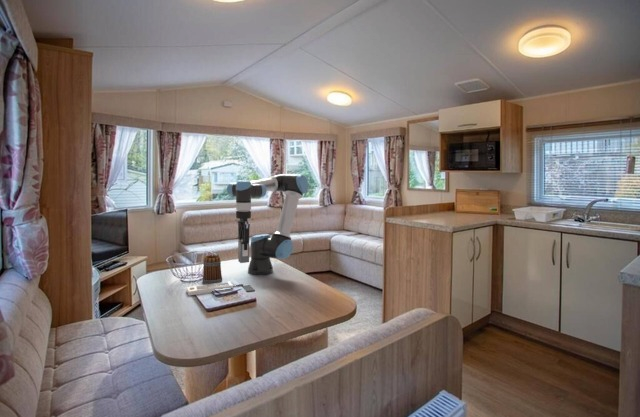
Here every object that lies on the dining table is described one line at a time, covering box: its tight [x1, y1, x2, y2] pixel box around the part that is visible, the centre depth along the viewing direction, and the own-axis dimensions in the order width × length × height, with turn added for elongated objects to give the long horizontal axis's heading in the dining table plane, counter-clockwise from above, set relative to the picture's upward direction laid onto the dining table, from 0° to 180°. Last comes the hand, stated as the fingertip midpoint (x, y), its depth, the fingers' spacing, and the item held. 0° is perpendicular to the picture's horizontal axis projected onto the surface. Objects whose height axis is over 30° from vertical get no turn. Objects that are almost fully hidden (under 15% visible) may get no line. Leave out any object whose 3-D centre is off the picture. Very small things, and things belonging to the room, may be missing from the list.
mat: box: [241, 284, 256, 293], centre depth 186 cm, size 9×9×1 cm
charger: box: [237, 239, 250, 264], centre depth 183 cm, size 4×4×12 cm
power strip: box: [186, 280, 244, 296], centre depth 183 cm, size 28×7×4 cm, turn 118°
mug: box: [201, 253, 223, 285], centre depth 197 cm, size 16×11×15 cm
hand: (243, 254), depth 184 cm, fingers closed on charger, 4 cm apart
